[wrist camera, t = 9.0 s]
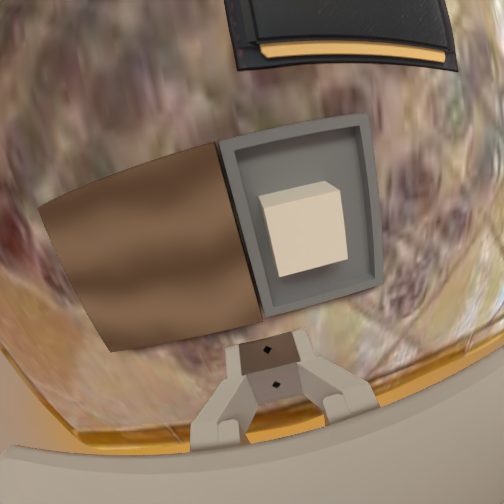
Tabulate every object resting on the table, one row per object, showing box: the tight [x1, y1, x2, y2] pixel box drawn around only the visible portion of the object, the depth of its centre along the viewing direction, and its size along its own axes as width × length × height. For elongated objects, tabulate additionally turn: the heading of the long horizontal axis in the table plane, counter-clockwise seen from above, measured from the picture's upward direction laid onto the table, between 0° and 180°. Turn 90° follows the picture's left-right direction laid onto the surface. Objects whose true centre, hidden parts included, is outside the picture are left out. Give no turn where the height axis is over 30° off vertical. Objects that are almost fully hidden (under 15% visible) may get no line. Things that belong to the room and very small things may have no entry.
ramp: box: [38, 142, 263, 352], centre depth 22 cm, size 14×14×2 cm
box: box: [219, 113, 384, 317], centre depth 22 cm, size 14×10×2 cm
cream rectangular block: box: [258, 181, 348, 277], centre depth 21 cm, size 5×5×3 cm
